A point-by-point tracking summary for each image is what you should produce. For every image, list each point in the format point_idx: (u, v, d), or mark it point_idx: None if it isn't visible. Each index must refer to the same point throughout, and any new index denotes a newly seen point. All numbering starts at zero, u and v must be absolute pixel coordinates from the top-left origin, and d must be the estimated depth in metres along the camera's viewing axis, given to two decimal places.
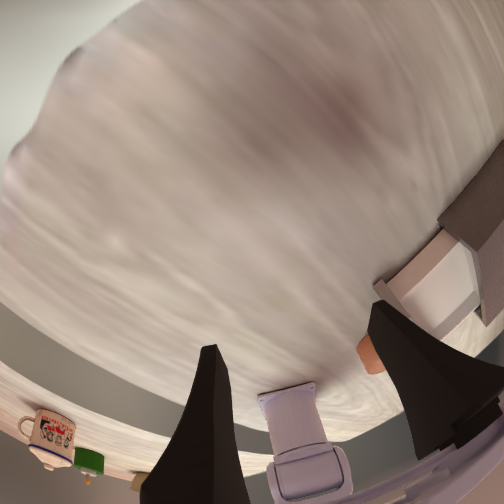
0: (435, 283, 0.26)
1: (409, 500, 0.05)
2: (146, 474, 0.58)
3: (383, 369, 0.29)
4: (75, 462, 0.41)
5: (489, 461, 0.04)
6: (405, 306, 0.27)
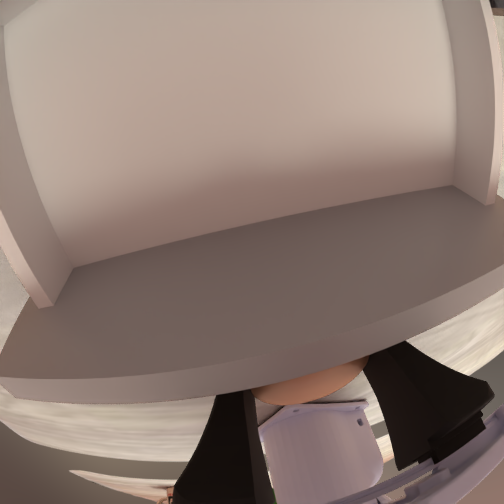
0: (169, 90, 0.06)
1: (409, 500, 0.05)
2: None
3: (348, 375, 0.11)
4: None
5: (489, 461, 0.04)
6: (181, 234, 0.09)
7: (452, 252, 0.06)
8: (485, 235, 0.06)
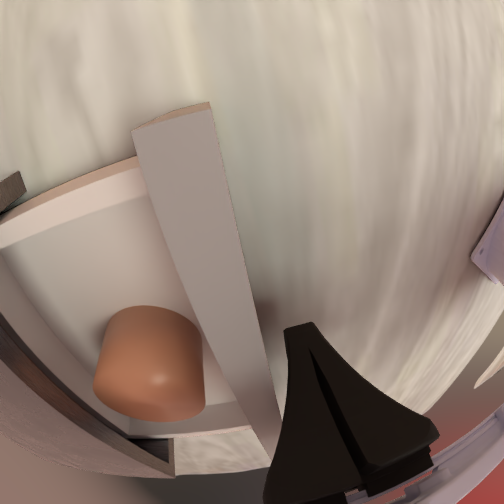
0: None
1: (409, 500, 0.05)
2: None
3: (151, 380, 0.09)
4: None
5: (489, 461, 0.04)
6: None
7: None
8: None
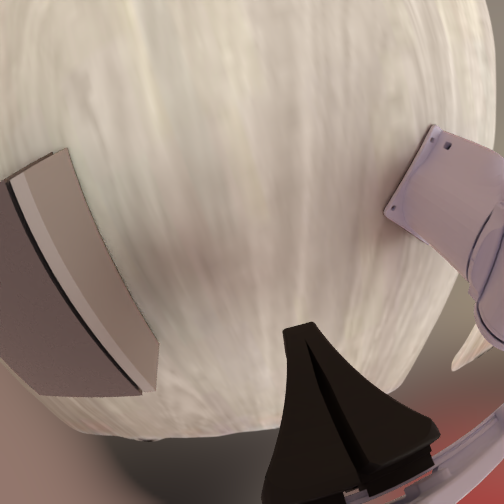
0: None
1: (409, 500, 0.05)
2: None
3: None
4: None
5: (489, 461, 0.04)
6: None
7: None
8: None
